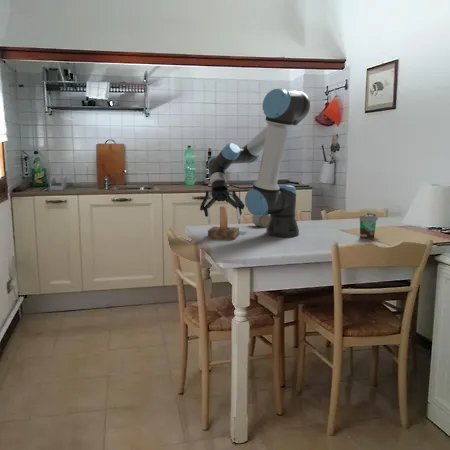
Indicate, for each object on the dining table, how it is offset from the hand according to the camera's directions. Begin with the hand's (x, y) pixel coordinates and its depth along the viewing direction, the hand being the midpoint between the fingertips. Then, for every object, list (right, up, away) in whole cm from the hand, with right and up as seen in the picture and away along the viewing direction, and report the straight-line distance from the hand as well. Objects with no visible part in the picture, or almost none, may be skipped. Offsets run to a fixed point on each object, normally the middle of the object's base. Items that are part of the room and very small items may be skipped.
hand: (224, 221), depth 210 cm
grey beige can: (+20, -3, +32) cm, 38 cm away
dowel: (0, -7, +4) cm, 8 cm away
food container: (+65, -7, +4) cm, 66 cm away
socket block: (0, -7, +4) cm, 8 cm away
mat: (+5, -6, +13) cm, 15 cm away
